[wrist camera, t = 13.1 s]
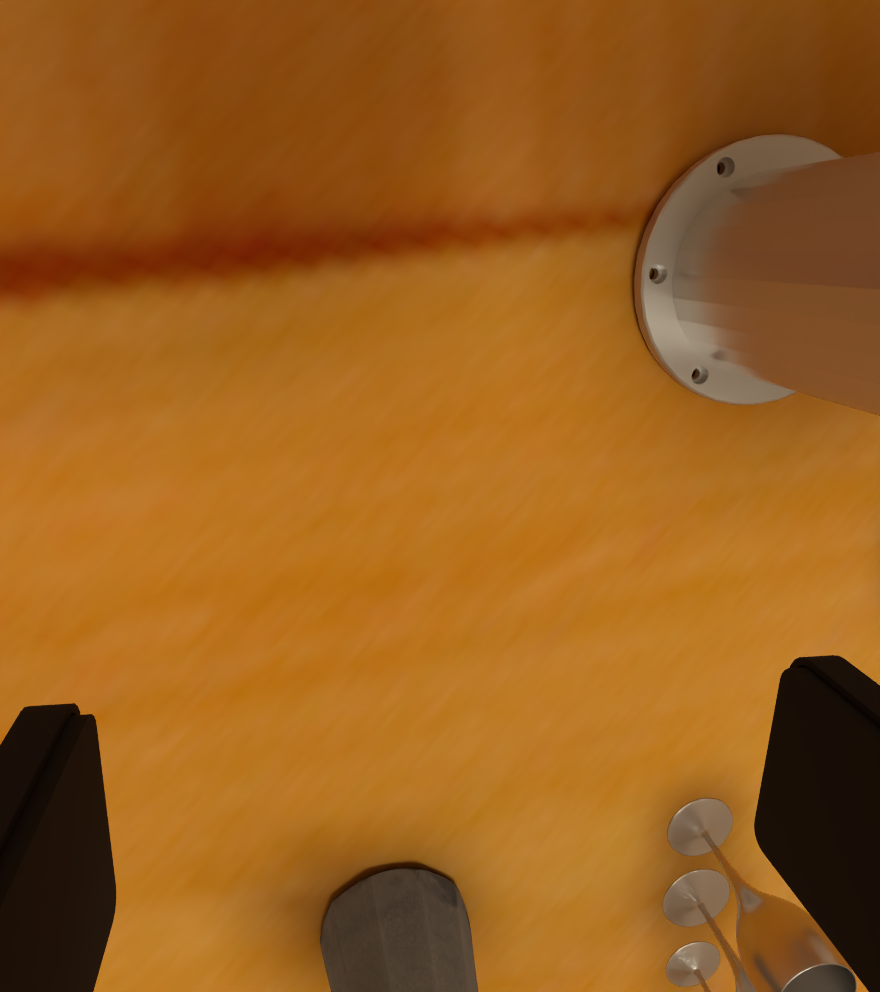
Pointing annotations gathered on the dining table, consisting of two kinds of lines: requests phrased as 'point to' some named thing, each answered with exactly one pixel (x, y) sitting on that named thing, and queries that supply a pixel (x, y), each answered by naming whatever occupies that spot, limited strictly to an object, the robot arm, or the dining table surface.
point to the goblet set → (743, 920)
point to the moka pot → (399, 936)
